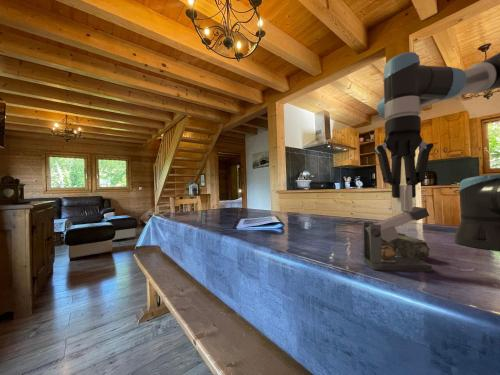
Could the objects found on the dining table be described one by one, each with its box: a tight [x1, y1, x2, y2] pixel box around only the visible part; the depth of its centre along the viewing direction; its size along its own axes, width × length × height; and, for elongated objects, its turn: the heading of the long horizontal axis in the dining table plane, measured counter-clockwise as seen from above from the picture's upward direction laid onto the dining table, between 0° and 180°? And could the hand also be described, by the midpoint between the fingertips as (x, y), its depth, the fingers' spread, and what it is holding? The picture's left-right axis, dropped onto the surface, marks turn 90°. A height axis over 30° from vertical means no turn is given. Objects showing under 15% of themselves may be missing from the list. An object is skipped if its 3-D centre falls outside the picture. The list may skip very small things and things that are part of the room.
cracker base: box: [362, 221, 433, 273], centre depth 56 cm, size 13×6×11 cm, turn 81°
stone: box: [381, 232, 430, 260], centre depth 66 cm, size 14×7×10 cm, turn 31°
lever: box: [365, 206, 430, 242], centre depth 56 cm, size 14×5×4 cm, turn 81°
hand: (403, 210), depth 56 cm, fingers closed
